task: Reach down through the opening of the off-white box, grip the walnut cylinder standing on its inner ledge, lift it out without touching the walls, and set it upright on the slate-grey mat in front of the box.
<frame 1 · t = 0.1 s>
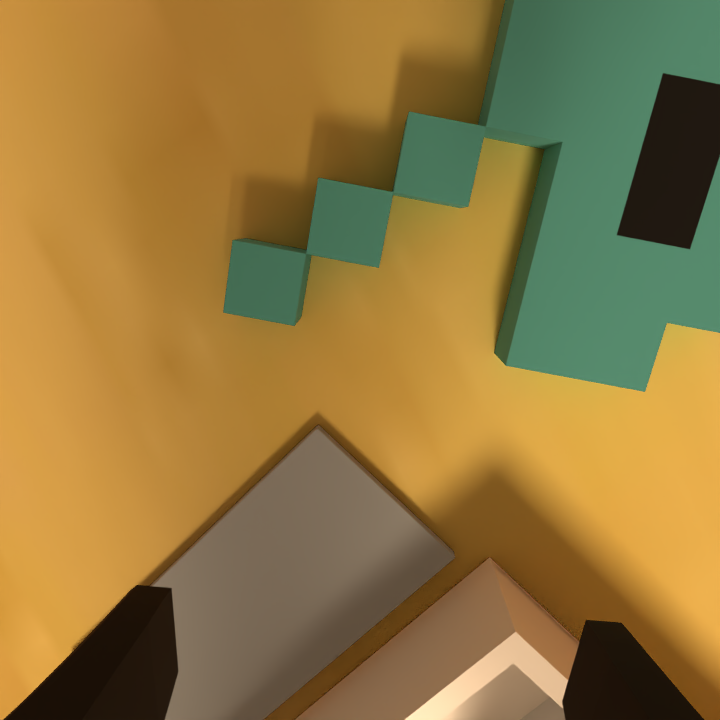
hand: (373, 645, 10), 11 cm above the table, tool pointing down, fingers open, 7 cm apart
alien figure: (601, 47, 18), on the table
slate mat: (257, 606, 22), on the table
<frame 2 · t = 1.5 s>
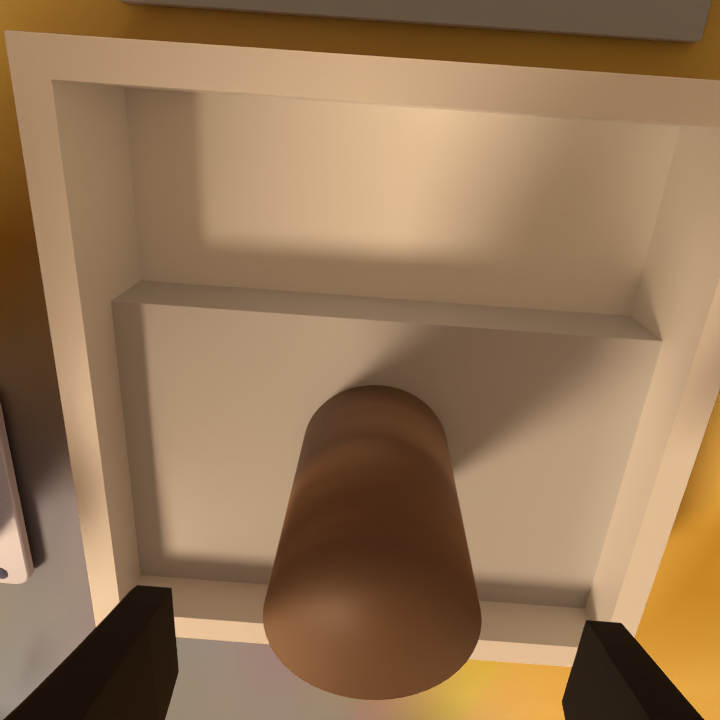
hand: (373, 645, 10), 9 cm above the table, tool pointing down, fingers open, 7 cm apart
open box: (380, 356, 18), on the table
walnut cylinder: (374, 449, 16), point 2 cm above the table, touching open box
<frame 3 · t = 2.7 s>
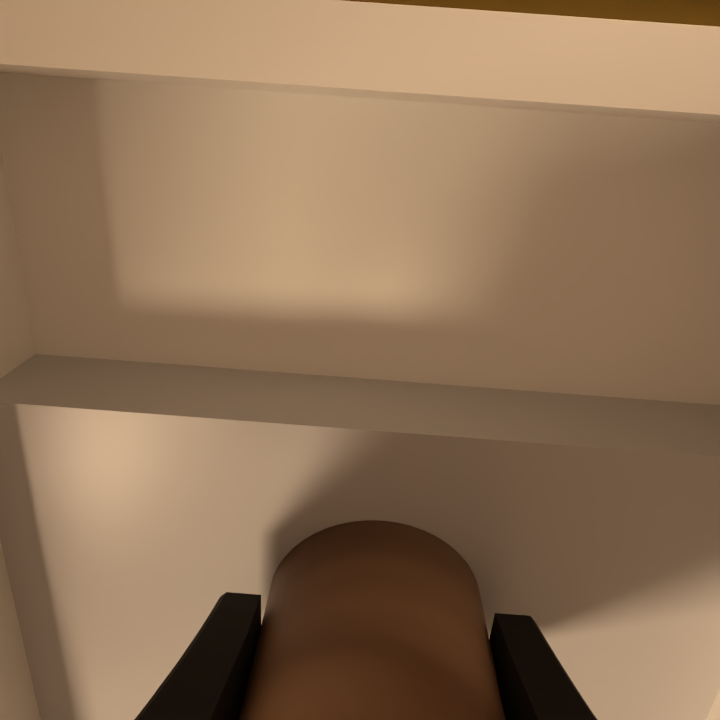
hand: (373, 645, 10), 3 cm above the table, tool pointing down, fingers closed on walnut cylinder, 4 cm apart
open box: (382, 453, 13), on the table
walnut cylinder: (374, 605, 11), point 2 cm above the table, touching gripper, open box
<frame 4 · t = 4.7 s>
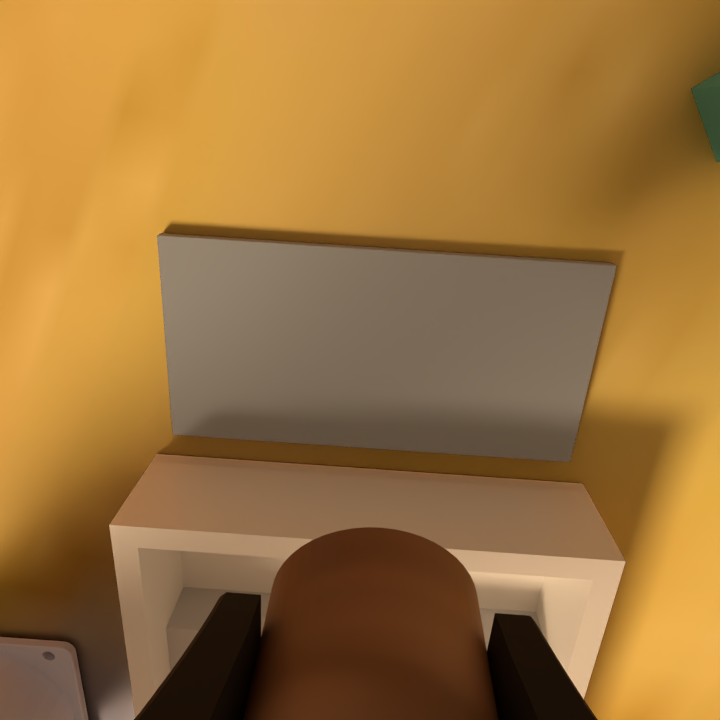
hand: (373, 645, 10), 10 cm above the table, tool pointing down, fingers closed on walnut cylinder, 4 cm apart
open box: (356, 626, 24), on the table
slate mat: (378, 352, 19), on the table
walnut cylinder: (373, 605, 11), point 9 cm above the table, touching gripper
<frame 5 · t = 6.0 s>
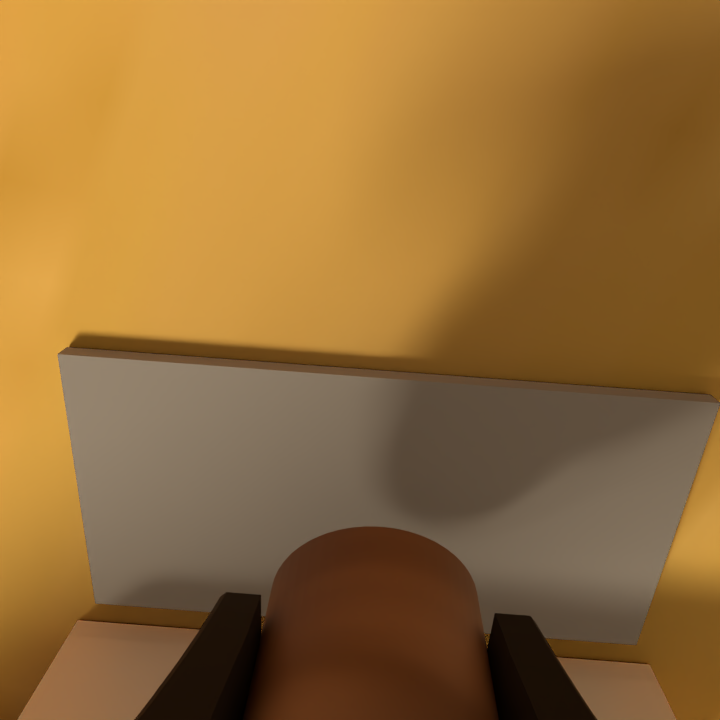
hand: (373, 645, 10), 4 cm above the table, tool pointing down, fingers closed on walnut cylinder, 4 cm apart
slate mat: (375, 503, 14), on the table
walnut cylinder: (373, 604, 11), point 3 cm above the table, touching gripper
when the fingers open (3 cm above the table, at t = 7.1 s): walnut cylinder drops 1 cm, resting on slate mat.
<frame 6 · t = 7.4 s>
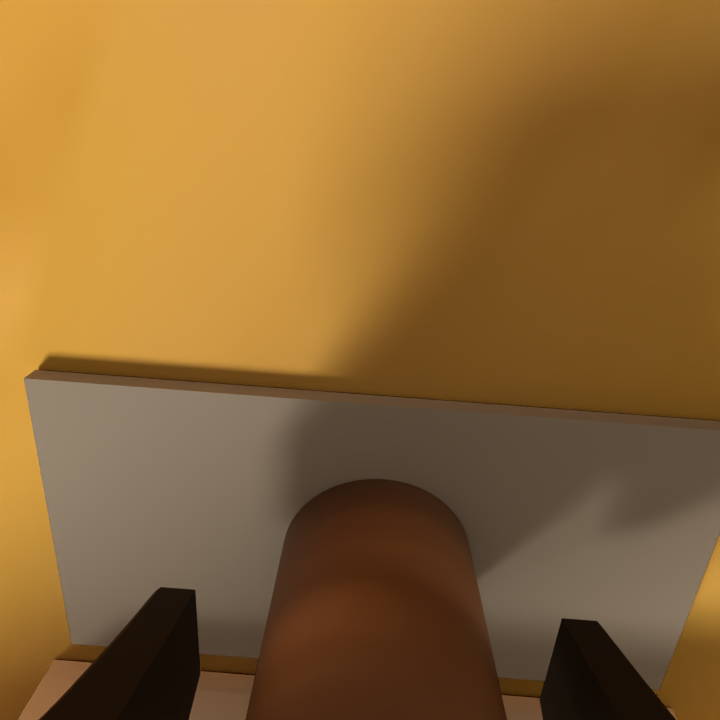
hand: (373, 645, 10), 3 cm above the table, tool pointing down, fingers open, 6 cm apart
slate mat: (375, 538, 13), on the table
walnut cylinder: (375, 557, 12), resting on slate mat
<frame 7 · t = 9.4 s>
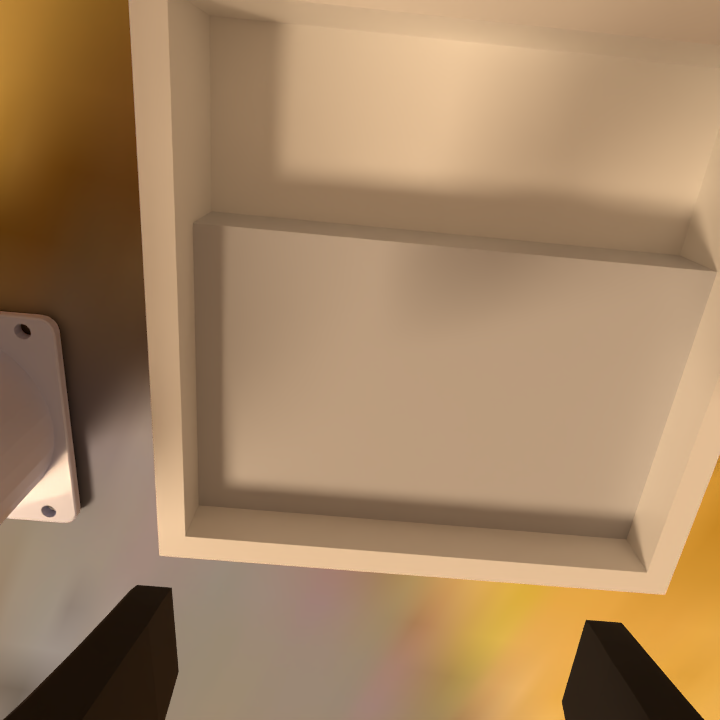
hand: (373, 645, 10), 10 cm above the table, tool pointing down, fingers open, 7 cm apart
open box: (436, 293, 18), on the table
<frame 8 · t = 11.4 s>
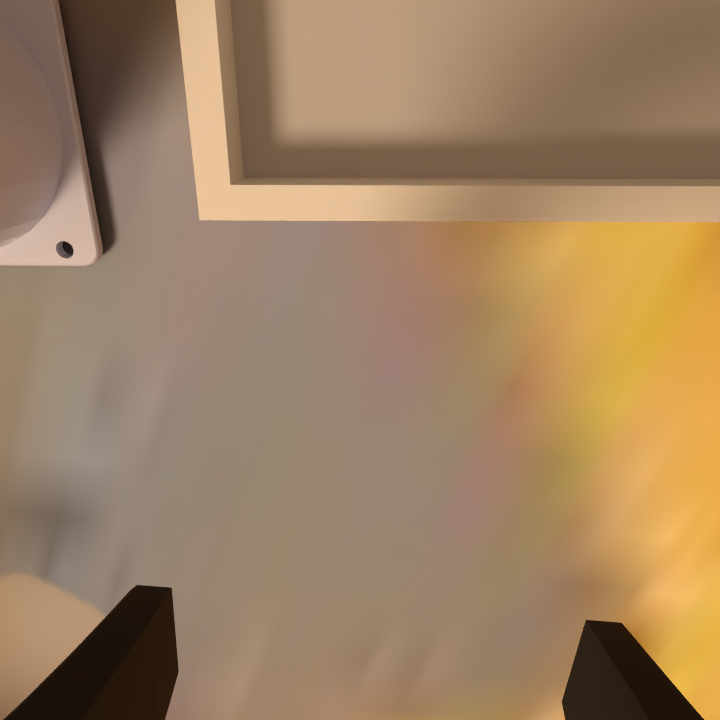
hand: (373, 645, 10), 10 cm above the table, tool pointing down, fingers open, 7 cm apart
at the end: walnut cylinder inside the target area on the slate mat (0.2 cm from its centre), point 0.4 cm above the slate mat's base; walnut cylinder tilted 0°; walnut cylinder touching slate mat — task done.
